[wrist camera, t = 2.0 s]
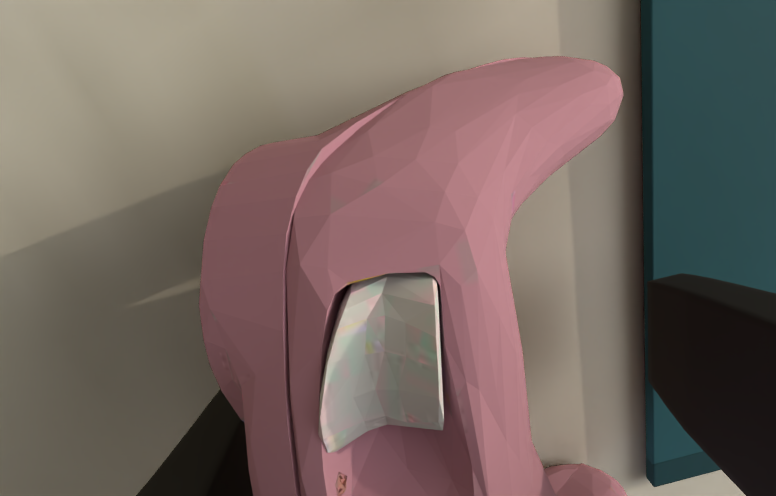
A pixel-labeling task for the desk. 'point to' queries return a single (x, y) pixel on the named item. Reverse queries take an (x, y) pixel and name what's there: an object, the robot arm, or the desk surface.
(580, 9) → the desk surface
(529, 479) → the video game controller
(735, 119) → the teal board
